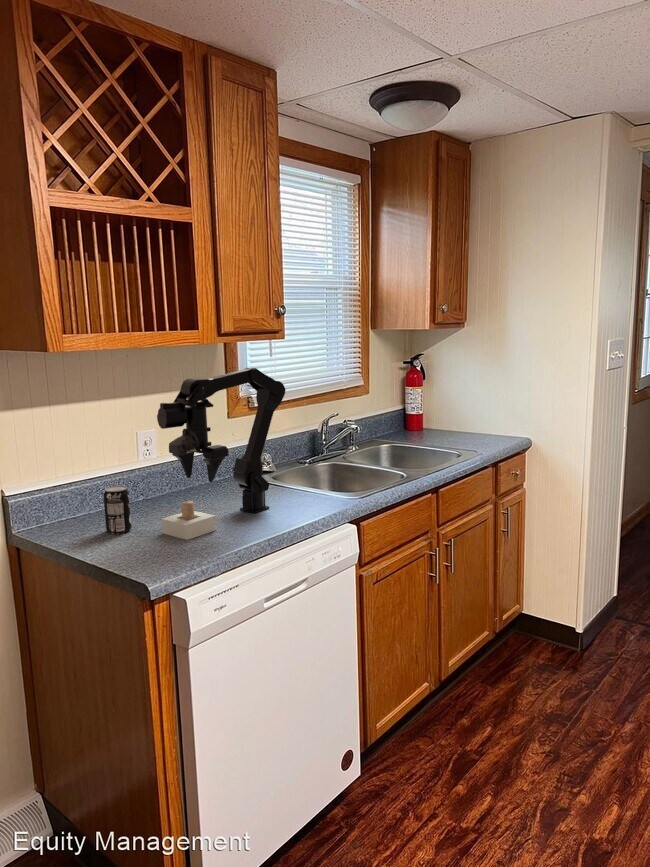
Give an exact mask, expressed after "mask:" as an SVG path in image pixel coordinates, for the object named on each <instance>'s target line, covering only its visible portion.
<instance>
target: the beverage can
mask: <svg viewBox="0 0 650 867" xmlns="http://www.w3.org/2000/svg"><path fill="white" fill-rule="evenodd" d="M130 501H131V500H130V492H129V490H128V487H127V486H125V485H113V486H112V485H111V486H108V487H106V488H105V489H104V492H103V504H104V516H105V517H104V518H105V529H106V532H108V533H109V534H110V535H122V534H126V533H129V532H130V531H131V529H132V516H131V514H132V513H131V502H130Z"/></svg>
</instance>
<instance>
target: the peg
mask: <svg viewBox="0 0 650 867" xmlns="http://www.w3.org/2000/svg"><path fill="white" fill-rule="evenodd" d="M180 504H181V513H182V520H186V521H189V520H192V519H195V517H194V511H195V505H194V504H195V503H194V501H192V500H191V501H190V500H187V501H183V502H181V503H180Z"/></svg>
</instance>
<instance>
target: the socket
mask: <svg viewBox="0 0 650 867" xmlns="http://www.w3.org/2000/svg"><path fill="white" fill-rule="evenodd" d="M194 517H195V519H192V520H189V521H186V520H182V512H180V513H177V514H173V515H170V516H167V517H163V518H161V531H162V534H164V535H167V536H171V537H175V538H177V539H178V538H179V539H181V540H182V539H183V540H186V541H189V540H191V539H194V538H197V537H199V536H203V535H206V534H208V533H211V532H214V531H217V522H216V515H214V514H209V513H205V512H200V511H196V510H194Z"/></svg>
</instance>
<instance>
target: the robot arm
mask: <svg viewBox="0 0 650 867" xmlns="http://www.w3.org/2000/svg"><path fill="white" fill-rule="evenodd" d="M246 384H248V385H249V386H250V387H251V388H252V389H254V391H255V392H256V397H255V398H256V399H255V400H256V404H257V409H256V410H257V411H256V414H255V417H254V420H253V424H252V428H251V431H250V434H249V435H250V436H249V438H248V441H247V445H246V449H245V452H244V454H243V456H242V457H241V458H238V457H236V458H235V461H234V466H233V468H232V472H233V475H232V476H233V478H234V481H235V482H236V483H237V485H238V487H239V489H242V496H241V500H242V501H241V502H242V507H240V508H239V510H240V511H243V512H249V513H253V514H256V513H259V512H261V511H265V510H268V509H270V506H269V505H266V491H269V488H270V482H269V481H267V480H266V479H265V478H264V477H263V476H262V475H263V470H264V469H263V468H264V467H263V463H262V455H263V452H264V449H265V445H266V441H267V438H268V433H269V430H270V428H271V423H272V420H273V416H274V412H275V411H276V410H277V409H278V408H279V406H281V404H282V402H283V399H284V397H285V395H286V387H285V385H284V383H283V382H282V381H279V380H275V379H274V378H273V377H271V376H270V375H267V374H265V373H263V372H262V371H260V370H259V369H258V368H256V367H245V368H243V369H240V370H236V371H232V372H228V373H224V374H220V375H216V376H213V377H197V378H187V379H185V380H183V381H182V384H181V385H180V391H179V392H178V394H177V396H176V397H175V399H174V401H173V402H161V403H160V404H159V408H158V411H157V415H156V419H157V420H156V421H157V424H158V425H159V428H160V429H162V430H163V429H172V428H180V427H184V425H185V428H182V435H180V436H178V437H176V438H175V439H173V440H172V441H171V442H169V443H168V452H169V454H172V456H173V457H175V458H176V459H177V460H179V463H180V464H181V467H182V469H183V472H184V474H185V477H186V478H187V479H190V478H191V477H192V474H193V468H194V467H193V466H194V459H195V458H194V457H195V453H198V454H202V456H203V457H204V458H203V459H202V461H203V462H204V463H205V464H206V467H207V468H206V469H207V477H208V478H207V479H208V482H209V483H213V481H214V479H215V477H216V476H217V472H218V470H219V468H220V465H221V464H222V462H223V460H225V459H226V457H229V448H228V447H227V446H226V445H221V444H216V445H215V444H214V445H212V441H209V435H208V434H209V433H208V432H211V430H212V429H211V427H209V426H208V420H207V419H208V417H207V408H213V407H214V404H213V403H212V402H210V400H209V399H208V398H211V397H212V396H213V395H214V394H216V393H218V392H220V391H223V390H227V389H231V388H234V387H238V386H242V385H246Z"/></svg>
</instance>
